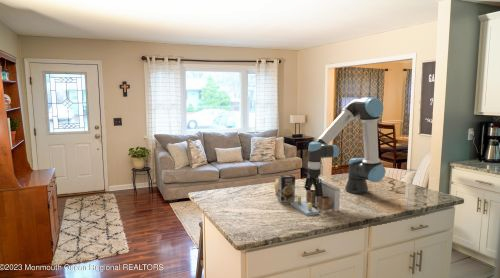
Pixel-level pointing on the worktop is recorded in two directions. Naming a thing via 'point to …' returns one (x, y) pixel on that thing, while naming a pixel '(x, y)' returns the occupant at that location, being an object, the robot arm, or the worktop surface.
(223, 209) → the worktop surface
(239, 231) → the worktop surface
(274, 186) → the sculpture
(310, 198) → the sleeve
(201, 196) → the worktop surface
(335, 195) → the feeder housing
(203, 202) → the worktop surface
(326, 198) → the sleeve
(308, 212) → the pin board
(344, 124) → the robot arm
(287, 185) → the coffee box
